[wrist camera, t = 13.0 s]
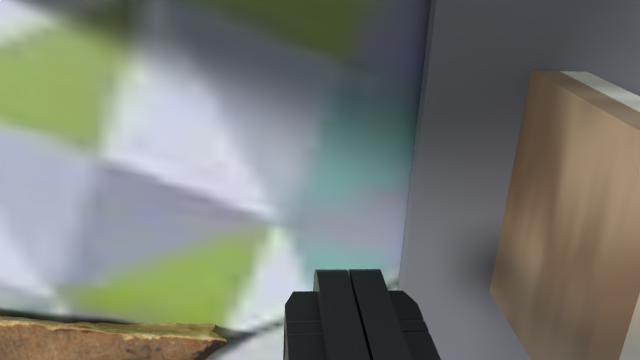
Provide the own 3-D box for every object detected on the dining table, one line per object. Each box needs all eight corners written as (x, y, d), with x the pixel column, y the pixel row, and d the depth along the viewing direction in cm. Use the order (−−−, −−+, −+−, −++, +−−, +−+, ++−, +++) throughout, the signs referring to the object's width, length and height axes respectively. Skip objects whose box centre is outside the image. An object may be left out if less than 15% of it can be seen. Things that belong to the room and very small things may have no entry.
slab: (531, 70, 18) (648, 135, 13) (587, 71, 18) (726, 137, 13) (489, 291, 21) (568, 420, 16) (537, 291, 22) (632, 418, 16)
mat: (440, -85, 17) (446, -85, 16) (888, -62, 18) (908, -61, 18) (388, 367, 23) (391, 378, 23) (723, 358, 25) (734, 368, 24)
